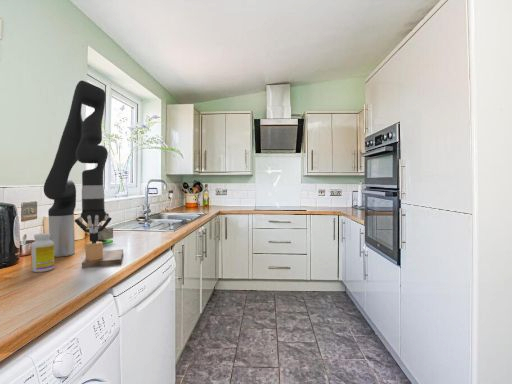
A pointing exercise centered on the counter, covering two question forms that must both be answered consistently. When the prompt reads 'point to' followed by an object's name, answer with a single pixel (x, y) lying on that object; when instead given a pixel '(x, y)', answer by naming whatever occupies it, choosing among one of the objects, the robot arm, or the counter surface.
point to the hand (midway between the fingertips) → (94, 242)
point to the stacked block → (105, 234)
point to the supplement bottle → (42, 253)
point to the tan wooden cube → (94, 251)
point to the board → (105, 259)
